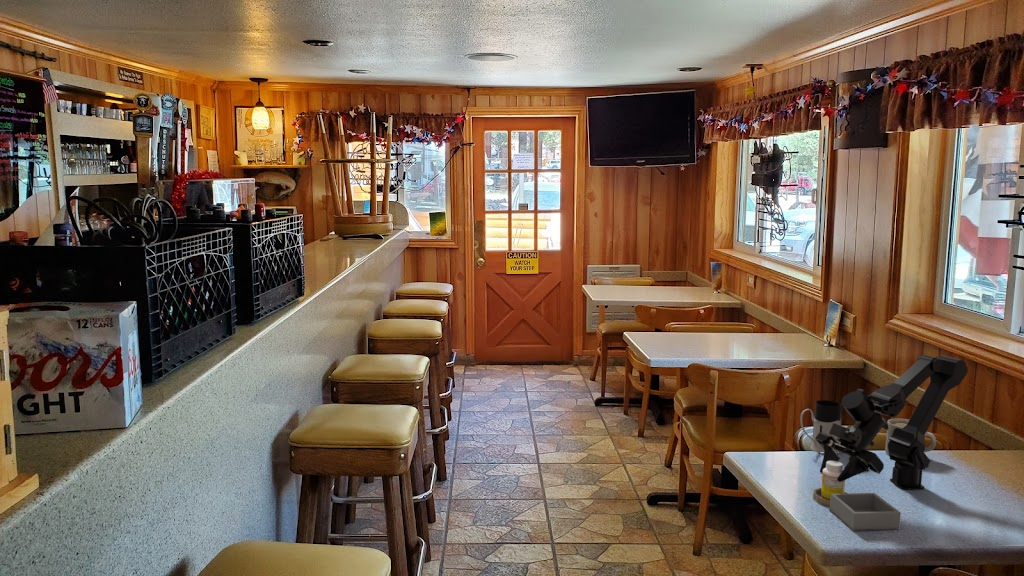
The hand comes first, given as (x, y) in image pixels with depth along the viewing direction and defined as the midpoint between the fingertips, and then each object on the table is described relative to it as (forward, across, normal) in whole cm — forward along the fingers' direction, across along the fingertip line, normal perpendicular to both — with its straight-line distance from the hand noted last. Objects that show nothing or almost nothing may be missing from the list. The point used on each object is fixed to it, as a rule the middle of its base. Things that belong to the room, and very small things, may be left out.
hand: (829, 477), depth 198 cm
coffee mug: (-30, -16, +40) cm, 52 cm away
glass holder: (-14, -30, +24) cm, 41 cm away
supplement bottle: (+4, 0, +6) cm, 7 cm away
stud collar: (+4, 0, +6) cm, 7 cm away
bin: (+5, +12, +4) cm, 14 cm away
